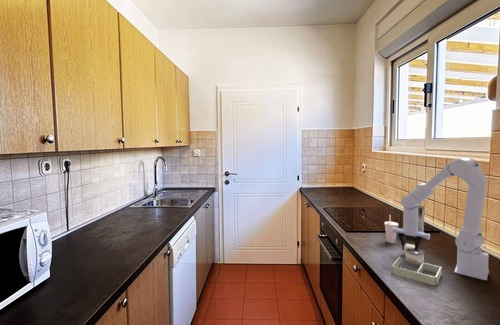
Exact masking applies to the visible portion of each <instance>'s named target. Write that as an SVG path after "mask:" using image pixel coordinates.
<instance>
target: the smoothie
mask: <svg viewBox="0 0 500 325" xmlns="http://www.w3.org/2000/svg"><path fill="white" fill-rule="evenodd" d="M391 218H392V215H391V214H389V221H384V224H383V225H384V230H385V235H386V242H387V243H389V244H395V243H396V239H397V234H398V233H392V229H393V228H399V223H398V222H395V221H392V219H391Z"/></svg>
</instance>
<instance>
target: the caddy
mask: <svg viewBox="0 0 500 325" xmlns="http://www.w3.org/2000/svg"><path fill="white" fill-rule="evenodd" d="M400 265H401V256H399V257H398V258H397V259H396V260H395V261H394V262H393V264H392V265H390V266H391V267H390V268H391V272H390V273H391V274H393V275H395V276H400V277H404V278H407V279H409V280H414V281H418V282H421V283H424V284H427V285H431V286H434V287H436V286H437V284H438V283H439V280H440V278H441V276H442V266H439V265H435V264H431V263H426V262H424V263H422V265H421V266H419V268H418V269H417V271H414V270H410V269H406V268H403V267H399V266H400ZM424 270H426V271H430V272H434V273H437V274H436V276H435V277H433V276H429V275H426V274H422V273H423V271H424Z"/></svg>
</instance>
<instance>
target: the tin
mask: <svg viewBox="0 0 500 325" xmlns="http://www.w3.org/2000/svg"><path fill="white" fill-rule="evenodd" d="M424 257H425V253H424V251H423V250H420V249H419V248H418V249H412V248H409V249H406V255H405V263H407V264H408V265H411V266H415V267H420V266H421V265H422V263H425V260H424V259H425V258H424Z"/></svg>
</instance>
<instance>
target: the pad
mask: <svg viewBox="0 0 500 325" xmlns="http://www.w3.org/2000/svg"><path fill="white" fill-rule="evenodd" d="M422 274H426V275H429V276H433V277H435V276H436V274H437V273H434V272H430V271H426V270H424V271H423V272H422Z"/></svg>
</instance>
